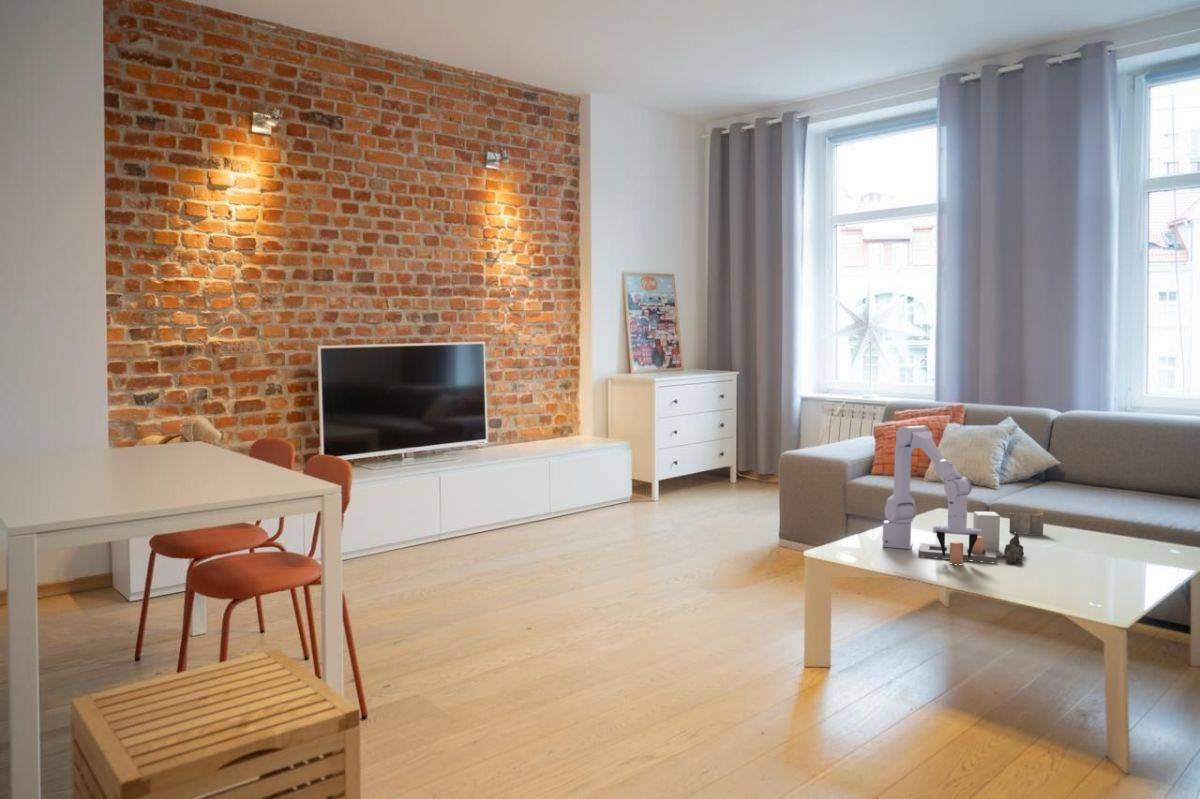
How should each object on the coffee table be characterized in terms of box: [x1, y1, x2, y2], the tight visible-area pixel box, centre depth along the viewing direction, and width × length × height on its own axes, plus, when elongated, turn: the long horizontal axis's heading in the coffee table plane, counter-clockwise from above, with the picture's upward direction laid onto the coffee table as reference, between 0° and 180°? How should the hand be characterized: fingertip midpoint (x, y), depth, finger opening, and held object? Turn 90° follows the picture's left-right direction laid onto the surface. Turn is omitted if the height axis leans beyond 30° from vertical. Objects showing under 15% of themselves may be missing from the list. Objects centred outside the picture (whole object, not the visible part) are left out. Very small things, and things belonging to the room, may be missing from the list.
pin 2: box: [971, 536, 983, 554], centre depth 297 cm, size 4×4×7 cm
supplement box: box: [972, 511, 1001, 552], centre depth 309 cm, size 7×7×13 cm
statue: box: [1002, 533, 1025, 565], centre depth 297 cm, size 6×6×20 cm
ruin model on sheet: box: [1009, 509, 1044, 536], centre depth 332 cm, size 11×3×10 cm, turn 63°
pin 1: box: [949, 541, 964, 566], centre depth 290 cm, size 4×4×7 cm
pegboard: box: [917, 542, 997, 564], centre depth 300 cm, size 24×12×2 cm, turn 67°
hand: (956, 556), depth 290 cm, fingers open, 7 cm apart
